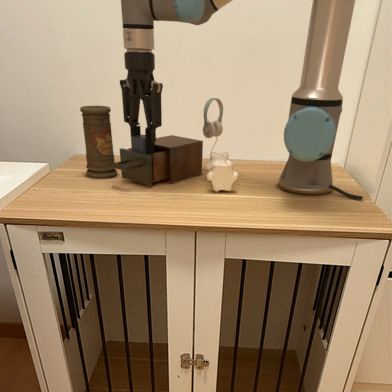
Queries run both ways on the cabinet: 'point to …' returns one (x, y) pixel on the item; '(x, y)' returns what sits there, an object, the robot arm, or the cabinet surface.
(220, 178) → the white rounded figure
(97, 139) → the container
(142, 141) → the block
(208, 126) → the headphones
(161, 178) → the drawer
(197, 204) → the cabinet surface
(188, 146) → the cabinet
